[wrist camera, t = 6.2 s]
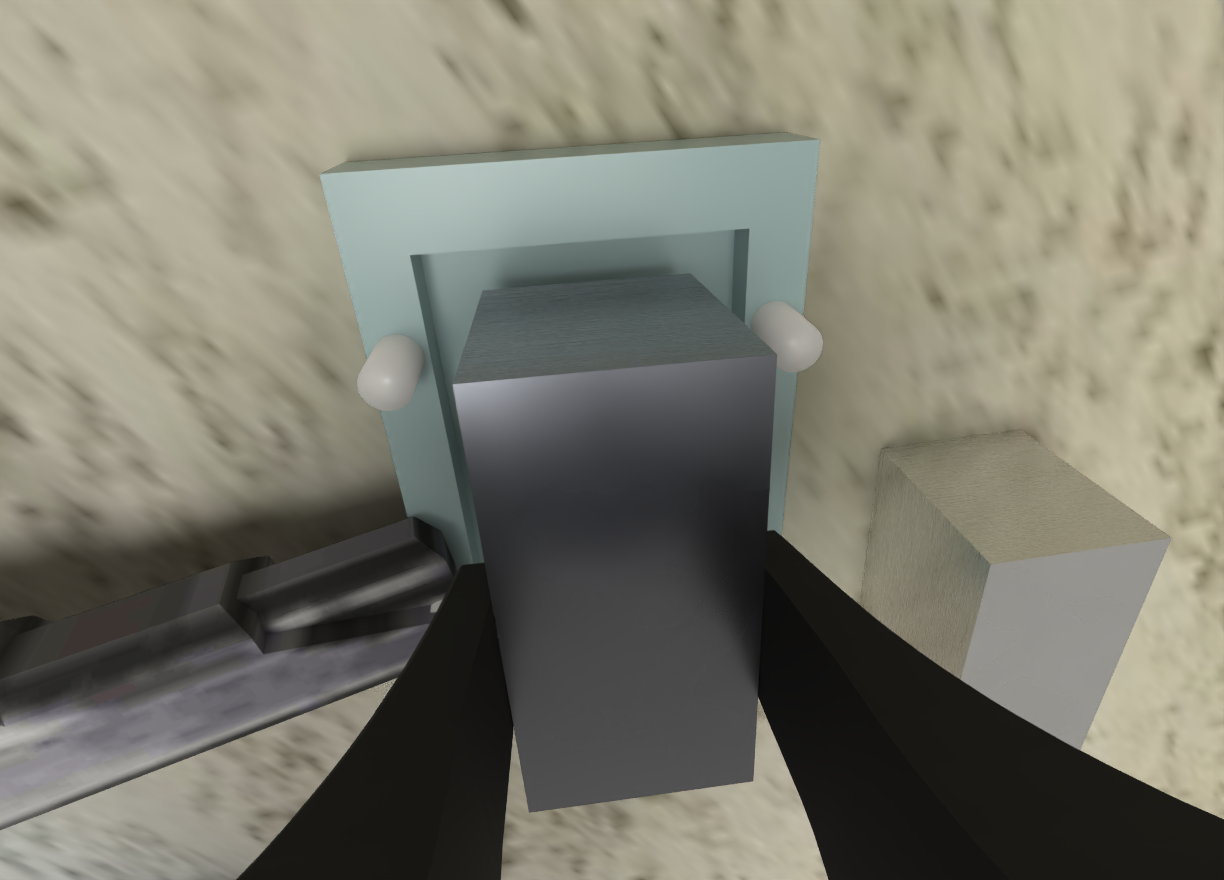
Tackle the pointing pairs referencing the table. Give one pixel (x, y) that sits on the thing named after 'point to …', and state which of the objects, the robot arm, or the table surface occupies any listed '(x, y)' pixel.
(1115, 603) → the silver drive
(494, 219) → the tray
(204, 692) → the handgun
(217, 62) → the table surface
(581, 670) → the dark grey rectangular block
